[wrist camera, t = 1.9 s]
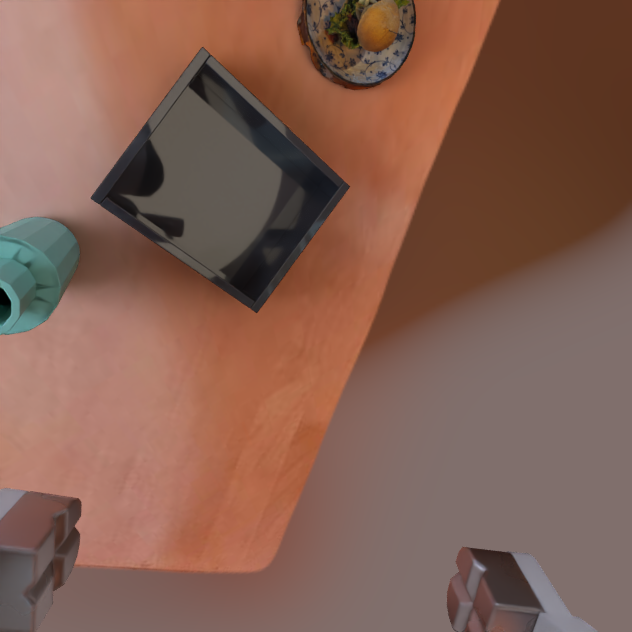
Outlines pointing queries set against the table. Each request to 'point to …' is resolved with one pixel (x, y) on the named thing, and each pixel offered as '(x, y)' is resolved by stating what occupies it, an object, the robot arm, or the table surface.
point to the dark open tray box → (222, 184)
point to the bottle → (34, 271)
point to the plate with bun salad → (358, 38)
